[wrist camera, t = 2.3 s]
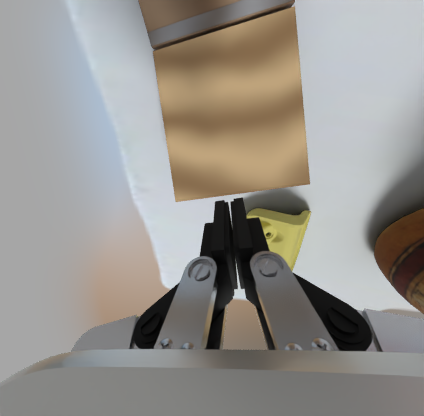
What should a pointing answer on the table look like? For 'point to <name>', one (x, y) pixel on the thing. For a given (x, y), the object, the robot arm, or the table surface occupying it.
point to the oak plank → (234, 109)
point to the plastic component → (283, 232)
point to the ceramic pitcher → (404, 257)
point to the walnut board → (200, 17)
